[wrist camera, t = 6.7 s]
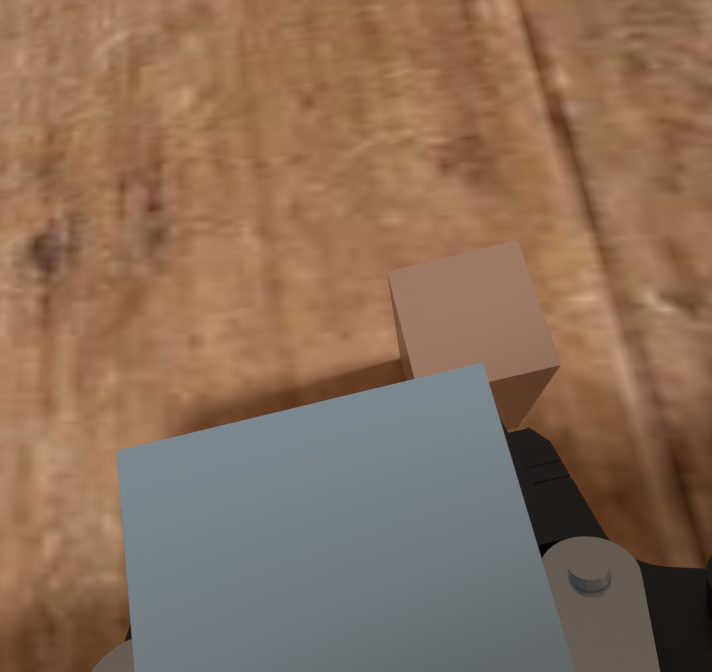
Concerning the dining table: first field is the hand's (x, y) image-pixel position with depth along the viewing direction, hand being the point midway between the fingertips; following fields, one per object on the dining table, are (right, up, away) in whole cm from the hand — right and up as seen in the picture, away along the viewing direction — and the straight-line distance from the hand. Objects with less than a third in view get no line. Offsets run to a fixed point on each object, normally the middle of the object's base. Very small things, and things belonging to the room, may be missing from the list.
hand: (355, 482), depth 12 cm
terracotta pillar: (+5, 0, +17) cm, 18 cm away
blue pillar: (+1, -3, +4) cm, 5 cm away
